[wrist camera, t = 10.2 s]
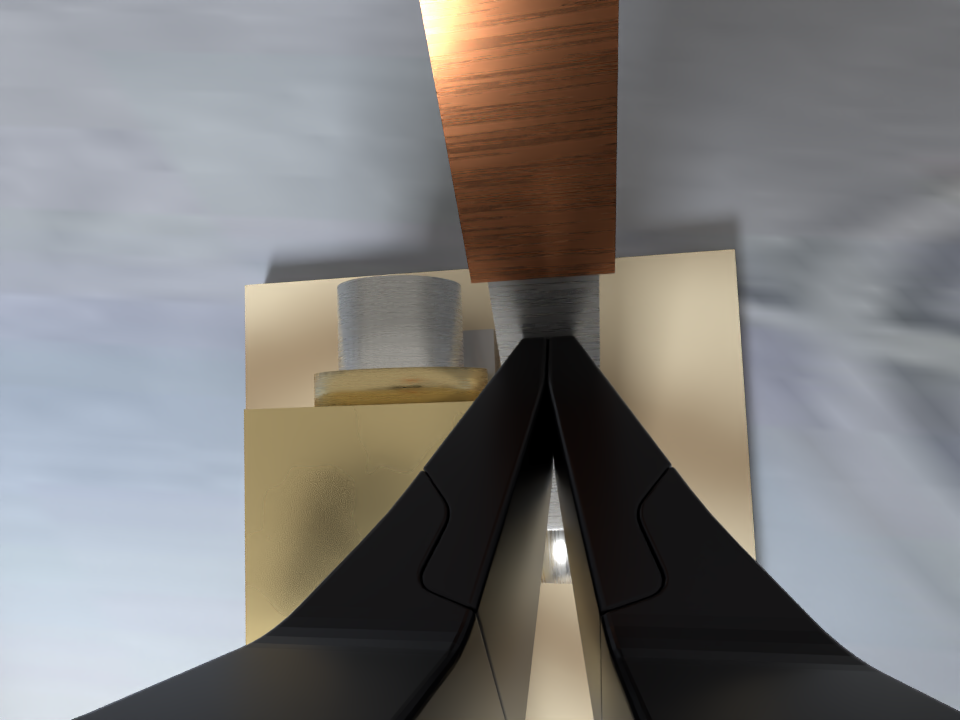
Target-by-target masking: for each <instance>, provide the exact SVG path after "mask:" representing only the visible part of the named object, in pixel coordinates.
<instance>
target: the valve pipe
mask: <svg viewBox="0 0 960 720" xmlns="http://www.w3.org/2000/svg"><path fill="white" fill-rule="evenodd" d="M337 315H338V368H339V371H329V372H321V373H316V374H314V407H295V408H269V409H244V461H245V598H246V645H247V644H250V643H251V642H253V641H255V640H257V639H258V638H260V637H262V636H263V635H265V634H266V633H267V632H269V631H270V630H272V629H273V628H274V627H276V626H277V625H278V624H279V623H280V622H282V621H283V620H284V619H285V618H286V617H288V616H289V615H290V614H291V613H292V612H293V611H294V610H295V609H296V608H297V607H298V606H299V605H300V604H301V603H302V602H303V601H304V600H305V599H306V598H307V597H308V596H309V595H310V594H311V593H312V592H313V591H314V590H315V589H316V587H317V586H318V585H319V584H320V583H321V582H322V581H323V580H324V579H325V578H326V577H327V576H328V575H329V574H330V573H331V572H332V571H333V570H334V569H335V568H336V567H337V566H338V565H339V564H340V563H341V562H342V561H343V559H344V558H345V557H346V556H347V555H348V554H349V553H350V552H351V551H352V550H353V549H354V548H355V547H356V546H357V545H358V544H359V543H360V542H361V541H362V540H363V539H364V538H365V536H366V535H367V534H368V533H369V532H370V531H371V530H372V529H373V528H374V527H375V526H376V524H377V523H378V522H379V521H380V520H381V519H382V518H383V517H384V516H385V515H386V514H387V512H388V511H389V510H390V509H391V508H392V506H393V505H394V504H395V503H396V501H397V500H398V499H399V498H400V496H401V495H402V494H403V493H404V492H405V490H406V489H407V488H408V487H409V485H410V484H411V483H412V481H413V480H414V479H415V477H416V476H417V475H418V474H419V472H420V471H423V468H424V466H425V465H426V463H427V462H428V461H429V460H430V458H431V457H432V456H433V454H434V453H435V452H436V450H437V449H438V448H439V446H440V445H441V444H442V443H443V441H444V440H445V439H446V437H447V436H448V435H449V433H450V432H451V431H452V429H453V428H454V427H455V426H456V424H457V423H458V422H459V420H460V419H461V418H462V416H463V415H464V414H465V412H466V411H467V410H468V409H469V407H470V406H471V405H472V403H473V402H474V401H475V399H476V398H477V397H478V396H479V394H480V393H481V392H482V390H483V389H484V388H485V386H486V385H487V384H488V382H489V381H490V380H491V379H492V377H493V376H494V375H495V373H496V372H497V371H498V369H499V368H500V366H499V350H498V344H497V337H496V331H495V330H494V329H484V330H466V331H463V324H462V294H461V285H460V284H459V283H457V282H455V281H452V280H449V279H444V278H439V277H431V276H418V275H385V276H372V277H364V278H358V279H353V280H349V281H345V282H343V283H341V284H339V285H338V286H337Z"/></svg>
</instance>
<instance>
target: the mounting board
mask: <svg viewBox="0 0 960 720" xmlns="http://www.w3.org/2000/svg"><path fill="white" fill-rule="evenodd" d="M391 275H418V276H431V277H439V278H444V279H449V280H452V281H455V282H457V283H459V284H460V285H461V294H462V324H463V331H466V330H484V329H494V330H495V325H494V319H493V312H492V306H491V300H490V294H489V287H488V282H483V283H471V278H470V273H469V269H459V270H445V271H431V272H418V273H404V274H391ZM377 276H385V275H377ZM364 277H372V276H364ZM364 277H350V278H336V279H323V280H309V281H296V282H282V283H268V284H255V285H245V355H246V409H269V408H295V407H314V374H316V373H321V372H329V371H339V368H338V315H337V286H338V285H339V284H341V283H343V282H345V281H349V280H353V279H358V278H364ZM599 309H600V370H601V371H602V373H603V374H604V375H605V377H606V378H607V379H608V381H609V382H610V383H611V385H612V386H613V387H614V389H615V390H616V391H617V392H618V394H619V395H620V396H621V398H622V399H623V400H624V402H625V403H626V404H627V406H628V407H629V408H630V410H631V411H632V412H633V414H634V415H635V416H636V418H637V419H638V420H639V422H640V423H641V424H642V426H643V427H644V428H645V430H646V431H647V432H648V433H649V435H650V436H651V437H652V439H653V440H654V441H655V443H656V444H657V445H658V447H659V448H660V449H661V451H662V452H663V453H664V455H665V456H666V457H667V459H668V460H669V461H670V463H671V464H672V467H674V468H675V469H676V470H677V471H678V473H679V474H680V475H681V477H682V478H683V479H684V481H685V482H686V483H687V485H688V486H689V487H690V488H691V490H692V491H693V492H694V493H695V495H696V496H697V497H698V498H699V500H700V501H701V502H702V503H703V504H704V506H705V507H706V508H707V509H708V511H709V512H710V513H711V514H712V515H713V516H714V517H715V518H716V520H717V521H718V522H719V523H720V524H721V525H722V526H723V527H724V528H725V529H726V530H727V531H728V532H729V534H730V535H731V536H732V537H733V538H734V539H735V540H736V541H737V542H738V543H739V544H740V545H741V546H742V547H743V548H744V549H745V550H746V551H747V552H748V553H749V554H750V556H751V557H752V558H753V559H754V560H755V561H756V555H755V541H754V526H753V511H752V496H751V482H750V467H749V452H748V437H747V423H746V408H745V393H744V378H743V364H742V349H741V334H740V319H739V305H738V290H737V275H736V260H735V249H730V250H717V251H703V252H690V253H676V254H662V255H649V256H635V257H622V258H615V273H613V274H599ZM499 366H500V367H501V362H500V356H499ZM525 720H594V718H593V711H592V705H591V699H590V693H589V686H588V680H587V674H586V667H585V661H584V655H583V649H582V642H581V636H580V630H579V623H578V617H577V611H576V605H575V598H574V592H573V586H572V584H560V583H541V586H540V594H539V603H538V612H537V621H536V630H535V638H534V647H533V656H532V665H531V674H530V682H529V691H528V700H527V709H526V718H525Z"/></svg>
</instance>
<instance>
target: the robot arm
mask: <svg viewBox="0 0 960 720" xmlns="http://www.w3.org/2000/svg"><path fill="white" fill-rule="evenodd" d="M553 458H554V469H555V477H556V485H557V491H558V498H559V504H560V510H561V516H562V523H563V529H564V535H565V542H566V548H567V554H568V560H569V567H570V573H571V579H572V586H573V592H574V598H575V605H576V611H577V617H578V623H579V630H580V636H581V642H582V649H583V655H584V661H585V667H586V674H587V680H588V686H589V693H590V699H591V705H592V711H593V718H594V720H960V711H958V710H956V709H954V708H952V707H950V706H948V705H946V704H944V703H942V702H940V701H938V700H936V699H934V698H932V697H930V696H928V695H926V694H924V693H922V692H920V691H918V690H916V689H914V688H912V687H910V686H908V685H906V684H904V683H902V682H900V681H898V680H896V679H894V678H892V677H890V676H888V675H886V674H884V673H882V672H881V671H879V670H877V669H875V668H873V667H872V666H870V665H868V664H867V663H865V662H864V661H862V660H861V659H859V658H858V657H856V656H855V655H854V654H852V653H851V652H850V651H848V650H847V649H846V648H844V647H843V646H842V645H840V644H839V643H838V642H837V641H836V640H835V639H833V638H832V637H831V636H830V635H829V634H828V633H826V632H825V631H824V630H823V629H822V628H821V627H820V626H819V625H818V624H817V623H816V622H815V621H814V620H813V619H812V618H811V617H810V616H809V615H808V614H807V613H806V612H805V611H804V610H803V609H802V608H801V607H800V606H799V605H798V604H797V603H796V602H795V601H794V600H793V599H792V598H791V596H790V595H789V594H788V593H787V592H786V591H785V590H784V589H783V588H782V587H781V586H780V585H779V584H778V583H777V582H776V581H775V580H774V579H773V578H772V577H771V576H770V575H769V574H768V573H767V572H766V571H765V570H764V569H763V568H762V567H761V566H760V565H759V564H758V563H757V562H756V561H755V560H754V559H753V558H752V557H751V556H750V554H749V553H748V552H747V551H746V550H745V549H744V548H743V547H742V546H741V545H740V544H739V543H738V542H737V541H736V540H735V539H734V538H733V537H732V536H731V535H730V534H729V532H728V531H727V530H726V529H725V528H724V527H723V526H722V525H721V524H720V523H719V522H718V521H717V520H716V518H715V517H714V516H713V515H712V514H711V513H710V512H709V511H708V509H707V508H706V507H705V506H704V504H703V503H702V502H701V501H700V500H699V498H698V497H697V496H696V495H695V493H694V492H693V491H692V490H691V488H690V487H689V486H688V485H687V483H686V482H685V481H684V479H683V478H682V477H681V475H680V474H679V473H678V471H677V470H676V469H675V468H674V467H672V464H671V463H670V461H669V460H668V459H667V457H666V456H665V455H664V453H663V452H662V451H661V449H660V448H659V447H658V445H657V444H656V443H655V441H654V440H653V439H652V437H651V436H650V435H649V433H648V432H647V431H646V430H645V428H644V427H643V426H642V424H641V423H640V422H639V420H638V419H637V418H636V416H635V415H634V414H633V412H632V411H631V410H630V408H629V407H628V406H627V404H626V403H625V402H624V400H623V399H622V398H621V396H620V395H619V394H618V392H617V391H616V390H615V389H614V387H613V386H612V385H611V383H610V382H609V381H608V379H607V378H606V377H605V375H604V374H603V373H602V371H601V370H600V369H599V367H598V366H597V365H596V363H595V362H594V361H593V359H592V358H591V357H590V355H589V354H588V353H587V352H586V350H585V349H584V348H583V346H582V345H581V344H580V342H579V341H578V340H577V338H576V337H574V336H554V337H551V338H550V339H549V341H548V339H547V338H545V337H534V338H523V339H522V340H521V341H520V342H519V343H518V345H517V346H516V347H515V348H514V350H513V351H512V352H511V354H510V355H509V356H508V358H507V359H506V360H505V362H504V363H503V364H502V365H501V367H500V368H499V369H498V371H497V372H496V373H495V375H494V376H493V377H492V379H491V380H490V381H489V382H488V384H487V385H486V386H485V388H484V389H483V390H482V392H481V393H480V394H479V396H478V397H477V398H476V399H475V401H474V402H473V403H472V405H471V406H470V407H469V409H468V410H467V411H466V412H465V414H464V415H463V416H462V418H461V419H460V420H459V422H458V423H457V424H456V426H455V427H454V428H453V429H452V431H451V432H450V433H449V435H448V436H447V437H446V439H445V440H444V441H443V443H442V444H441V445H440V446H439V448H438V449H437V450H436V452H435V453H434V454H433V456H432V457H431V458H430V460H429V461H428V462H427V463H426V465H425V466H424V468H423V471H420V472H419V474H418V475H417V476H416V477H415V479H414V480H413V481H412V483H411V484H410V485H409V487H408V488H407V489H406V490H405V492H404V493H403V494H402V495H401V496H400V498H399V499H398V500H397V501H396V503H395V504H394V505H393V506H392V508H391V509H390V510H389V511H388V512H387V514H386V515H385V516H384V517H383V518H382V519H381V520H380V521H379V522H378V523H377V524H376V526H375V527H374V528H373V529H372V530H371V531H370V532H369V533H368V534H367V535H366V536H365V538H364V539H363V540H362V541H361V542H360V543H359V544H358V545H357V546H356V547H355V548H354V549H353V550H352V551H351V552H350V553H349V554H348V555H347V556H346V557H345V558H344V559H343V561H342V562H341V563H340V564H339V565H338V566H337V567H336V568H335V569H334V570H333V571H332V572H331V573H330V574H329V575H328V576H327V577H326V578H325V579H324V580H323V581H322V582H321V583H320V584H319V585H318V586H317V587H316V589H315V590H314V591H313V592H312V593H311V594H310V595H309V596H308V597H307V598H306V599H305V600H304V601H303V602H302V603H301V604H300V605H299V606H298V607H297V608H296V609H295V610H294V611H293V612H292V613H291V614H290V615H289V616H288V617H286V618H285V619H284V620H283V621H282V622H280V623H279V624H278V625H277V626H276V627H274V628H273V629H272V630H270V631H269V632H267V633H266V634H265V635H263V636H262V637H260V638H258V639H257V640H255V641H253V642H251V643H250V644H247V645H245V646H243V647H241V648H239V649H237V650H234V651H232V652H230V653H227V654H225V655H223V656H220V657H218V658H216V659H213V660H211V661H209V662H206V663H204V664H202V665H199V666H197V667H195V668H192V669H190V670H188V671H185V672H183V673H181V674H178V675H176V676H174V677H171V678H169V679H167V680H164V681H162V682H160V683H157V684H155V685H153V686H150V687H148V688H146V689H143V690H141V691H139V692H136V693H134V694H132V695H129V696H127V697H125V698H122V699H120V700H118V701H115V702H113V703H111V704H108V705H106V706H104V707H101V708H99V709H97V710H94V711H92V712H90V713H87V714H85V715H82V716H79V717H77V718H74V719H72V720H525V718H526V709H527V700H528V691H529V682H530V674H531V665H532V656H533V647H534V638H535V630H536V621H537V612H538V603H539V594H540V586H541V577H542V568H543V559H544V550H545V542H546V533H547V524H548V515H549V506H550V498H551V489H552V479H553Z"/></svg>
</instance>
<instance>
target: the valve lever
mask: <svg viewBox="0 0 960 720" xmlns="http://www.w3.org/2000/svg"><path fill="white" fill-rule="evenodd" d="M420 5H421V10H422V15H423V21H424V26H425V32H426V37H427V43H428V48H429V54H430V59H431V65H432V70H433V76H434V81H435V87H436V92H437V98H438V103H439V108H440V114H441V119H442V125H443V130H444V136H445V141H446V147H447V152H448V158H449V163H450V169H451V174H452V180H453V185H454V191H455V196H456V201H457V207H458V212H459V218H460V223H461V229H462V234H463V240H464V245H465V251H466V256H467V262H468V267H469V273H470V278H471V283H483V282H488V287H489V294H490V300H491V306H492V312H493V319H494V325H495V331H496V337H497V344H498V350H499V356H500V362H501V365H502V364H503V363H504V362H505V360H506V359H507V358H508V356H509V355H510V354H511V352H512V351H513V350H514V348H515V347H516V346H517V345H518V343H519V342H520V341H521V340H522V339H523V338H534V337H545V338H547V339H548V341H549V339H550V338H551V337H554V336H574V337H576V338H577V340H578V341H579V342H580V344H581V345H582V346H583V348H584V349H585V350H586V352H587V353H588V354H589V355H590V357H591V358H592V359H593V361H594V362H595V363H596V365H597V366H598V367H599V369H600V309H599V274H613V273H615V235H616V160H617V86H618V12H619V0H420ZM541 583H560V584H572V579H571V573H570V567H569V560H568V554H567V548H566V542H565V535H564V529H563V523H562V516H561V510H560V504H559V498H558V491H557V485H556V477H555V469H554V458H553V479H552V489H551V498H550V506H549V515H548V524H547V533H546V542H545V550H544V559H543V568H542V577H541Z"/></svg>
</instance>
